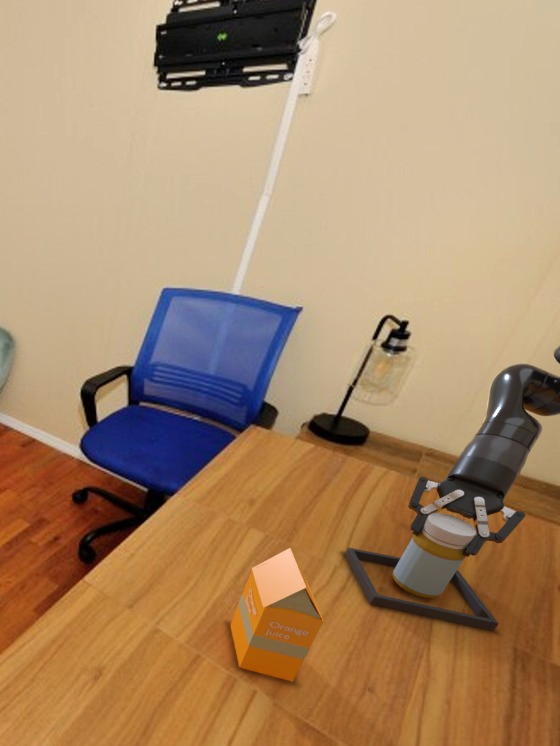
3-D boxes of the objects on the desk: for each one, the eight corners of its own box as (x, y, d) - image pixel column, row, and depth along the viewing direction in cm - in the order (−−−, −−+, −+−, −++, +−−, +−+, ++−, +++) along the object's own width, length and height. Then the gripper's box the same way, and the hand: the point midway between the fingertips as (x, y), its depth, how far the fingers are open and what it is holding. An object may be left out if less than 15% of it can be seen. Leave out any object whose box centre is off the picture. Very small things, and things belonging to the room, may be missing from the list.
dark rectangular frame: (450, 578, 99) (456, 568, 98) (491, 633, 88) (499, 623, 87) (343, 556, 105) (348, 547, 104) (368, 606, 94) (374, 596, 92)
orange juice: (278, 639, 88) (318, 553, 78) (292, 684, 80) (338, 595, 71) (228, 627, 90) (261, 541, 81) (237, 670, 83) (274, 581, 73)
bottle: (404, 596, 93) (441, 534, 86) (383, 569, 99) (416, 509, 92) (449, 603, 92) (490, 540, 85) (425, 574, 98) (462, 514, 91)
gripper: (437, 441, 93) (390, 517, 92) (554, 477, 82) (502, 563, 82) (431, 456, 98) (387, 528, 97) (541, 491, 88) (492, 572, 87)
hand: (440, 544), depth 90 cm, fingers closed on bottle, 6 cm apart
